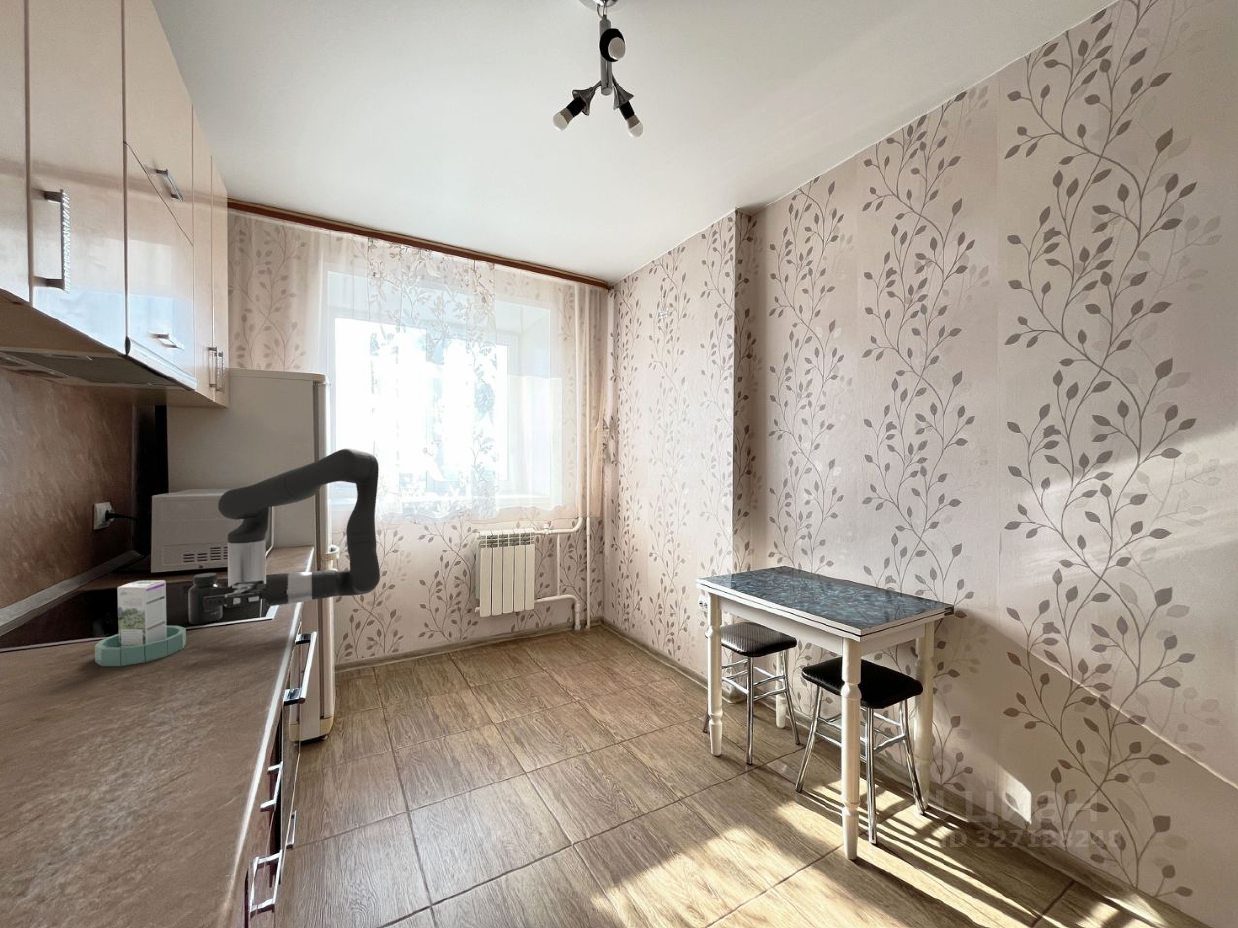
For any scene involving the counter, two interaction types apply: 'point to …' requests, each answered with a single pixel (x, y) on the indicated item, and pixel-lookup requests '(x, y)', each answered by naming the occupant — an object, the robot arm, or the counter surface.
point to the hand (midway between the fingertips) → (206, 597)
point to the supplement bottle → (196, 596)
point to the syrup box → (141, 612)
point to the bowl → (139, 649)
